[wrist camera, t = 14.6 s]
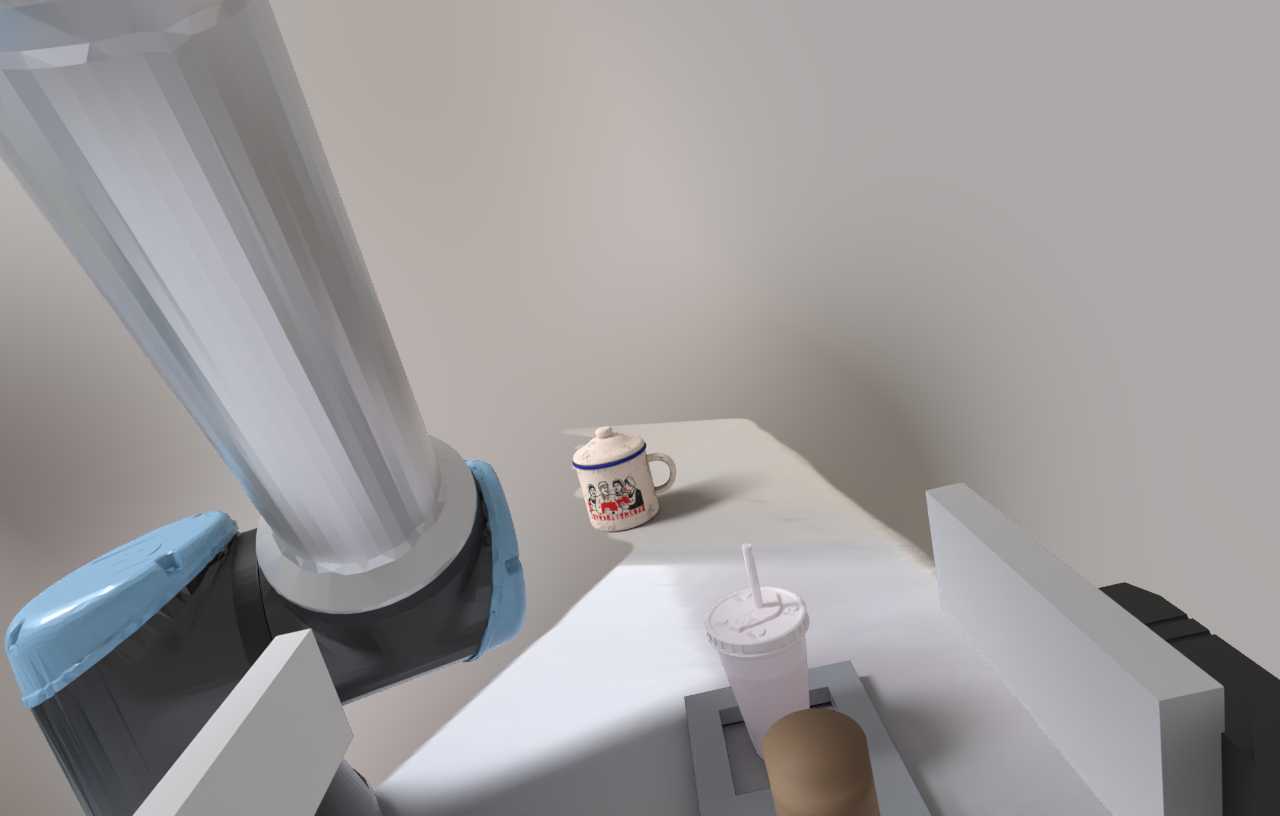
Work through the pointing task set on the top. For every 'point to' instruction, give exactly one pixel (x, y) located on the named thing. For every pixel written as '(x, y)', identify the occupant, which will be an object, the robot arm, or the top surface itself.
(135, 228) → the robot arm
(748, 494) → the top surface
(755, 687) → the smoothie
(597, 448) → the teacup with lid
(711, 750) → the cup holder tray
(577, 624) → the top surface
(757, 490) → the top surface
